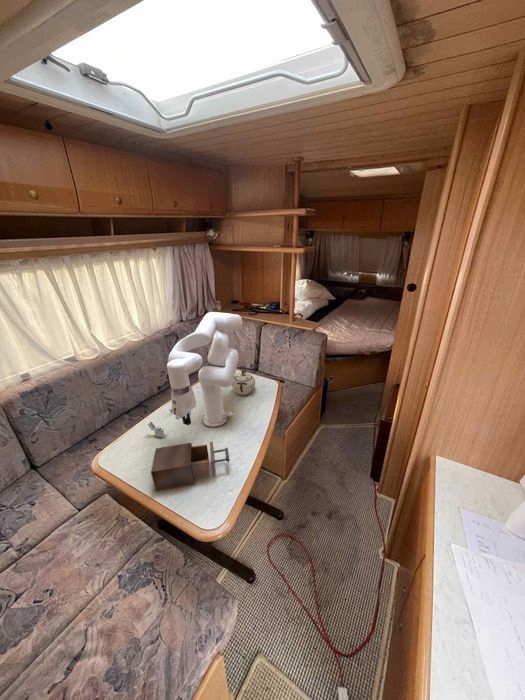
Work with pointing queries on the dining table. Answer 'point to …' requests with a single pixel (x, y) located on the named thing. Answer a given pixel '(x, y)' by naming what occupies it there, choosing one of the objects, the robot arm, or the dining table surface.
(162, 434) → the lighter
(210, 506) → the dining table surface
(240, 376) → the sugar bowl
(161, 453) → the cabinet
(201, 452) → the drawer
